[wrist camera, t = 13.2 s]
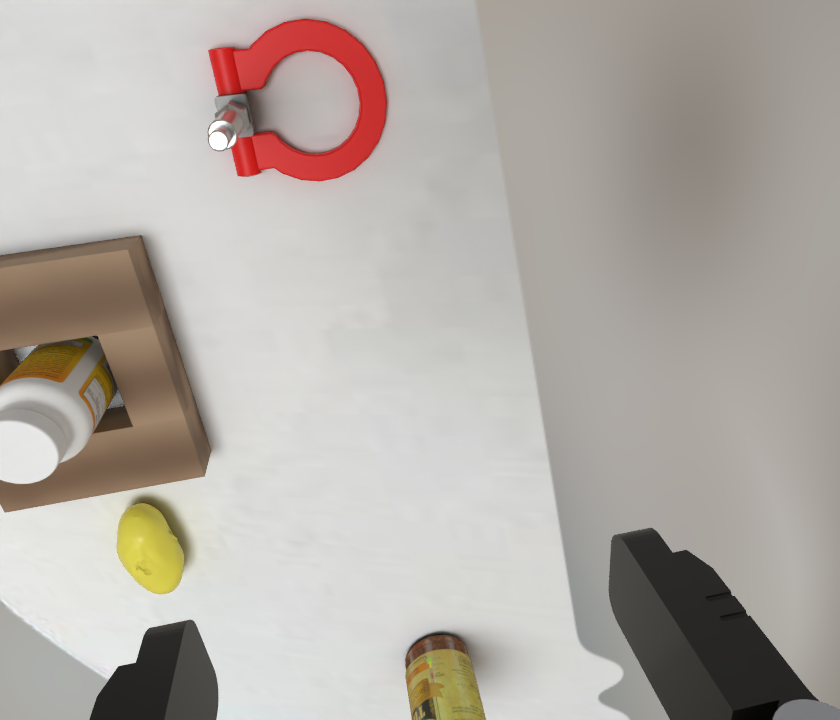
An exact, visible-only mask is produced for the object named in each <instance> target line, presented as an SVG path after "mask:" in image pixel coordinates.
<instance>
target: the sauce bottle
mask: <svg viewBox="0 0 840 720" xmlns="http://www.w3.org/2000/svg"><path fill="white" fill-rule="evenodd" d="M406 683H407V690H408V696H409V703H410V710H411V717H412V720H486V718H485V713H484V709H483V705H482V702H481V698H480V694H479V690H478V686H477V682H476V678H475V674H474V670H473V667H472V663H471V660H470V658H469V657H468V653H467V649H466V647H465V645H464V644H463V643H462V642H461V640H459V639H458V638H455V637H453V636H451V635H435V636H429V637H427V638H425V639H422V640H421V641H420V642H418V643H416V644H415V645H414V646H413V647H412V648H411V649H410V651H409V652H408V654H407V657H406Z"/></svg>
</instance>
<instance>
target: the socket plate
mask: <svg viewBox="0 0 840 720" xmlns="http://www.w3.org/2000/svg"><path fill="white" fill-rule="evenodd" d="M97 335H98V338H99V341H100V343H101V346H102V348H103V351H104V353H105V356H106V358H107V361H108V364H109V366H110V369H111V371H112V374H113V376H114V379H115V382H116V384H117V387H118V389H119V392H120V394H121V397H122V400H123V402H124V405H125V406H124V407H118V408H112V409H107V410H106V411H105V413H104V414H103V416H102V418H101V420H100V421H99V423H98V425H97V427H96V428H95V430H94V432H93V434H92V436H91V437H90V439H89V441H88V442H87V444H86V445H85V447H84V448H83V449H82V450H81V451H80V452H79V453H78V454H77V455H75V456H74V457H72V458H71V459H69V460H67V461H64V462H62V463H59V465H58V466H57V468H56V469H55V470H54V472H53V473H52V474H51V475H49V476H48V477H47V478H45V479H43V480H41V481H38V482H34V483H29V484H15V483H10V482H5V481H2V480H0V504H1V506H2V508H3V510H4V512H11V511H16V510H22V509H27V508H33V507H38V506H44V505H49V504H55V503H60V502H66V501H71V500H77V499H82V498H88V497H93V496H99V495H104V494H110V493H115V492H121V491H126V490H132V489H137V488H143V487H148V486H154V485H159V484H165V483H170V482H176V481H181V480H187V479H192V478H198V477H203V476H205V473H206V469H207V465H208V461H209V457H210V453H211V449H210V446H209V443H208V440H207V437H206V434H205V431H204V428H203V425H202V422H201V419H200V416H199V412H198V409H197V406H196V403H195V400H194V397H193V394H192V391H191V388H190V385H189V382H188V379H187V376H186V373H185V369H184V366H183V363H182V360H181V357H180V354H179V351H178V348H177V345H176V342H175V339H174V336H173V333H172V329H171V326H170V323H169V320H168V317H167V314H166V311H165V308H164V305H163V302H162V299H161V296H160V293H159V290H158V286H157V283H156V280H155V277H154V274H153V271H152V268H151V265H150V262H149V259H148V256H147V253H146V250H145V246H144V243H143V240H142V237H141V236H134V237H127V238H120V239H113V240H106V241H99V242H92V243H85V244H78V245H71V246H64V247H57V248H50V249H43V250H36V251H29V252H22V253H15V254H8V255H1V256H0V385H1V384H2V383H3V382H4V381H5V380H6V378H7V377H9V375H10V374H11V373H12V372H13V371H14V370H15V369H16V368H17V367H18V366H19V365H20V364H19V362H18V360H17V358H16V355H15V353H14V351H13V349H14V348H21V347H27V346H33V345H40V344H46V343H52V342H59V341H65V340H71V339H78V338H84V337H90V336H97Z"/></svg>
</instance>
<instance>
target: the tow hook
mask: <svg viewBox="0 0 840 720" xmlns="http://www.w3.org/2000/svg"><path fill="white" fill-rule="evenodd" d="M307 50H309V51H317V52H322V53H324V54H326V55H329V56H331V57H333V58H334V59H336V60H337V61H338V62H339V63H341V64H342V65H343V66H344V67H345V68H346V70H347V71H348V72H349V73H350V75H351V76H352V78H353V80H354V83H355V85H356V87H357V90H358V95H359V101H360V106H359V117H358V120H357V123H356V126H355V128H354V130H353V131H352V133H351V135H350V136H349V138H348V139H347V140H346V141H344V142H343V143H342V144H341V145H340V146H339V147H337V148H335V149H333V150H331V151H328V152H323V153H318V154H315V153H304V152H302V151H299V150H296V149H293V148H292V147H290V146H289V145H287V144H286V143H284V142H283V141H282V140H281V139H280V138H279V137H278V136H277V135H276V134H275V133H273V132H271V131H269V132H261V133H254V131H255V129H254V124H253V120H252V115H251V111H250V106H249V101H248V97H247V93H246V92H244V91H248V90H256V89H262V88H263V87H264V86H265V84H266V80H267V78H268V76H269V74H270V73H271V71H272V69H273V67H275V66H276V65H277V64H278V63H279V62H280V61H281V60H282V59H283V58H285V57H287V56H289V55H291V54H293V53H295V52H301V51H307ZM208 52H209V56H210V60H211V64H212V69H213V73H214V77H215V81H216V86H217V90H218V94H219V95H218V96H217V97H215V103H216V108H217V113H215V120H214V121H213V122H212V123H211V125H210V126H209V128H208V143H209V145H210V147H211V148H212V149H214V150H215V151H224V150H226V149H230V148H231V149H232V153H233V158H234V162H235V166H236V170H237V175H238V176H242V177H248V176H254V175H257V174H259V173H261V170H263V169H270V168H275V169H277V170H278V171H280V172H281V173H283V174H286V175H288V176H291V177H294V178H297V179H300V180H309V181H324V180H329V179H334V178H338V177H341V176H343V175H345V174H347V173H349V172H351V171H353V170H355V169H356V168H357V167H358V166H359V165H360V164H361V163H362V162H363V161H365V160H366V159H367V158H368V157H369V155H370V154H371V152H372V151H373V149H374V148H375V146H376V145H377V143H378V142H379V139H380V136H381V133H382V130H383V127H384V124H385V117H386V105H387V101H386V94H385V88H384V82H383V79H382V77H381V74H380V72H379V70H378V67H377V65H376V62H375V61H374V59H373V58H372V57H371V55H370V54H369V53H368V51H367V50H366V48H365V47H364V46H363V44H362V43H360V42H359V41H358V40H357V39H355V38H354V37H353V36H352V35H350V34H349V33H348V32H347V31H346V30H343V29H341V28H339V27H337V26H334V25H332V24H330V23H328V22H324V21H317V20H310V19H301V20H295V21H289V22H284V23H282V24H280V25H278V26H276V27H274V28H272V29H270V30H268V31H266V32H265V33H264V34H263V35H262V36H261V37H260V38H259V39H258V40H257V41H255V42H254V43H253V44H252V45H251V47H250V48H249V49H240V50H235V47H226V48H217V49H210V50H208Z"/></svg>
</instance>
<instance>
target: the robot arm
mask: <svg viewBox="0 0 840 720" xmlns="http://www.w3.org/2000/svg"><path fill="white" fill-rule="evenodd" d="M609 597H610V602H611V606H612V610H613V613H614V615H615V618H616V620H617V622H618V624H619V626H620V628H621V630H622V632H623V634H624V635H625V637H626V639H627V641H628V643H629V645H630V646H631V648H632V650H633V652H634V653H635V656H636V657H637V659H638V661H639V663H640V665H641V667H642V669H643V670H644V672H645V674H646V676H647V678H648V680H649V682H650V683H651V685H652V687H653V689H654V691H655V693H656V694H657V696H658V698H659V700H660V702H661V704H662V706H663V707H664V709H665V711H666V713H667V714H668V717H669V718H670V720H840V710H839V709H837V708H836V707H833V706H831V705H828V704H826V703H823V702H820V701H818V699H816V698H815V697H814V696H813V695H812V693H811V692H810V691H809V690H808V689H807V688H806V686H805V685H804V684H803V683H802V681H801V680H800V679H799V678H798V676H797V675H796V674H795V673H794V671H793V670H792V669H791V667H790V666H789V665H788V664H787V662H786V661H785V660H784V658H783V657H782V656H781V655H780V653H779V652H778V651H777V650H776V648H775V647H774V646H773V645H772V643H771V642H770V641H769V639H768V638H767V637H766V635H765V634H764V633H763V632H762V630H761V629H760V628H759V627H758V625H757V624H756V623H755V621H754V620H753V619H752V618H751V616H748V615H747V614H746V610H745V609H744V607H742V605H741V604H740V603H739V601H738V600H737V599H736V597H735V596H732V595H731V591H730V590H729V589H728V587H727V586H726V585H725V583H724V582H723V581H722V579H721V578H720V577H719V576H718V574H717V573H716V572H715V571H714V569H713V568H712V567H710V566H709V565H707V564H706V563H705V562H703V561H702V560H700V559H699V558H697V557H696V556H695V555H693V554H692V553H690V552H689V551H687V550H684V551H679V552H675V553H672V551H671V550H670V549H669V547H668V546H667V544H666V543H665V542H664V540H663V539H662V538H661V536H660V535H659V534H658V532H657V531H655V530H654V529H653V528H647V529H643V530H637V531H633V532H628V533H623V534H617V535H614V536H613V537H612V541H611V558H610V575H609ZM217 710H218V684H217V678H216V674H215V670H214V668H213V665H212V663H211V660H210V658H209V655H208V653H207V651H206V648H205V646H204V643H203V641H202V638H201V636H200V633H199V631H198V628H197V626H196V624H195V622H194V621H193V620H187V621H182V622H177V623H172V624H167V625H162V626H157V627H152V628H149V629H148V630H147V631H146V633H145V635H144V637H143V640H142V644H141V647H140V651H139V654H138V658H137V661H136V663H133V664H128V665H123V666H118V668H117V669H116V671H115V672H114V673H113V675H112V676H111V678H110V679H109V681H108V682H107V684H106V685H105V686H104V688H103V689H102V690H101V692H100V693H99V695H98V696H97V698H96V702H95V705H94V708H93V711H92V714H91V717H90V720H216V717H217Z"/></svg>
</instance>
